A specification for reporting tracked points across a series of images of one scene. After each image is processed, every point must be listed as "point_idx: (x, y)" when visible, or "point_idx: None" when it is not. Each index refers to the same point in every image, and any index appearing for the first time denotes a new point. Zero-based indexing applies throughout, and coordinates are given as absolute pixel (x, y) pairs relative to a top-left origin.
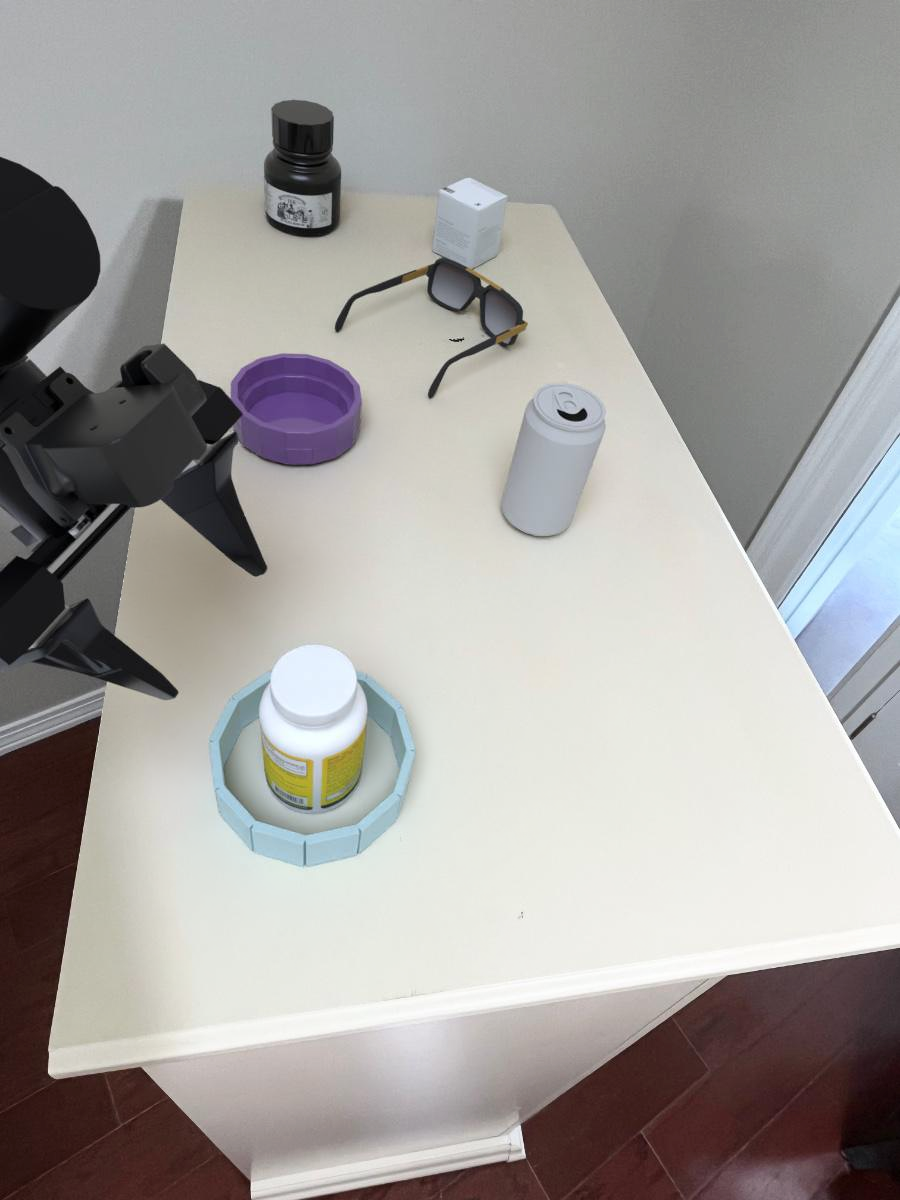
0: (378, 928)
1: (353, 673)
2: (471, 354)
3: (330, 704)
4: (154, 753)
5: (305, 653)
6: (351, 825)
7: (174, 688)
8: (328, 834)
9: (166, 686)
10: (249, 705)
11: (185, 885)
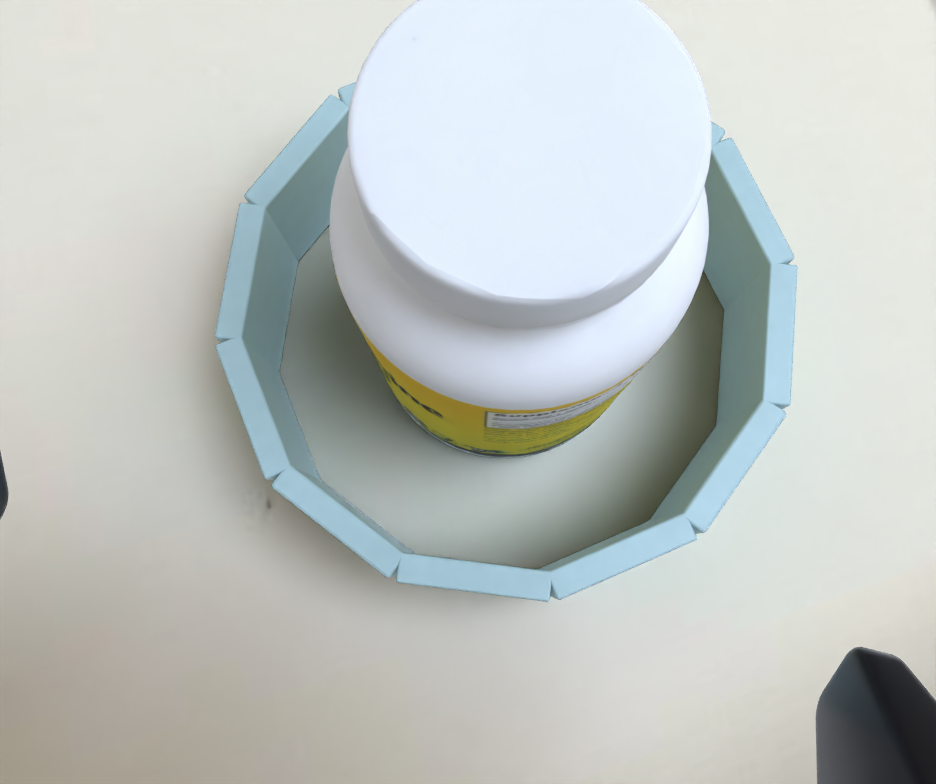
0: (838, 130)
1: None
2: None
3: (641, 36)
4: (530, 768)
5: (406, 187)
6: (715, 160)
7: (876, 669)
8: (755, 209)
9: (919, 709)
10: (380, 531)
11: (851, 568)
